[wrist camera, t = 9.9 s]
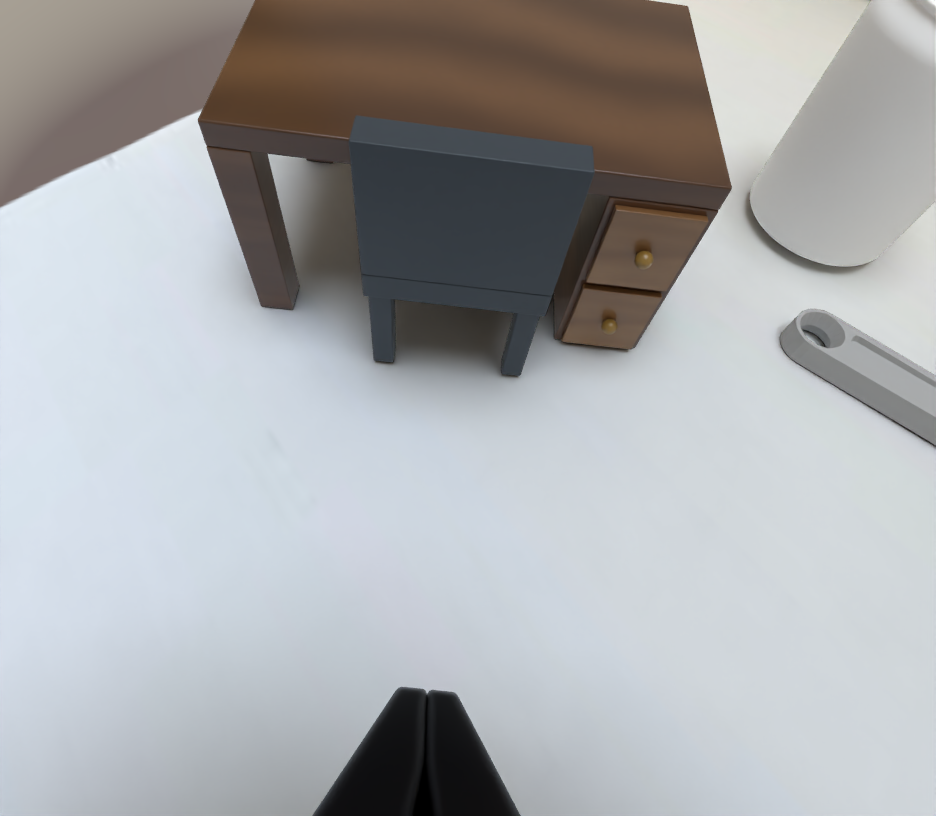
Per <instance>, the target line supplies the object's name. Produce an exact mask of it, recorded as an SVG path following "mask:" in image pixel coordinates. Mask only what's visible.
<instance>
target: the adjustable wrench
mask: <svg viewBox="0 0 936 816" xmlns="http://www.w3.org/2000/svg"><path fill="white" fill-rule="evenodd" d="M802 329H803V330H807V331H810V332H812V333H814V334H815V335H816V336H818V337H819V338H820V339H821V340H822V341H823V342H824V344H825V346H826V347H821V346H819V345H817V344H815V343H813V342H812V341H811V340H809V339H808V338H807V337H806V335H805V334H804V333H803V331H802ZM780 341H781V346H782V348H783V350H784V351H785V353H786V354H787V355H788V356H789V357H790V358H791V359H793V360H794V361H795V362H797V363H798V364H800V365H802V366H803V367H805V368H807V369H808V370H810V371H812V372H813V373H815V374H817V375H818V376H820V377H822V378H824V379H825V380H827V381H829V382H830V383H832V384H834V385H835V386H837V387H839V388H840V389H842V390H844V391H845V392H847V393H849V394H850V395H852V396H854V397H855V398H857V399H859V400H860V401H862V402H864V403H865V404H867V405H869V406H871V407H872V408H874V409H876V410H877V411H879V412H881V413H882V414H884V415H886V416H887V417H889V418H891V419H892V420H894V421H896V422H897V423H899V424H901V425H902V426H904V427H906V428H907V429H909V430H911V431H913V432H914V433H916V434H918V435H919V436H921V437H923V438H924V439H926V440H928V441H929V442H931V443H933V444H934V445H936V375H934V374H932V373H931V372H929V371H927V370H926V369H924V368H922V367H921V366H919V365H917V364H916V363H914V362H912V361H911V360H909V359H907V358H905V357H904V356H902V355H900V354H899V353H897V352H895V351H894V350H892V349H890V348H889V347H887V346H885V345H883V344H882V343H880V342H878V341H877V340H875V339H873V338H872V337H870V336H868V335H867V334H865V333H863V332H861V331H860V330H858V329H856V328H855V327H853V326H851V325H850V324H848V323H846V322H845V321H843V320H841V319H839V318H838V317H836V316H834V315H833V314H831V313H828V312H826V311H824V310H820V309H807V310H804V311H802V312H801V313H800V314H799V315H798V316H797V317H796V318H795V319H794V320H793V321H792V322H791V323H790V324H789V325H788V326H787V328H786V329H785V330H784V331H783V332H782V334H781V337H780Z"/></svg>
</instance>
